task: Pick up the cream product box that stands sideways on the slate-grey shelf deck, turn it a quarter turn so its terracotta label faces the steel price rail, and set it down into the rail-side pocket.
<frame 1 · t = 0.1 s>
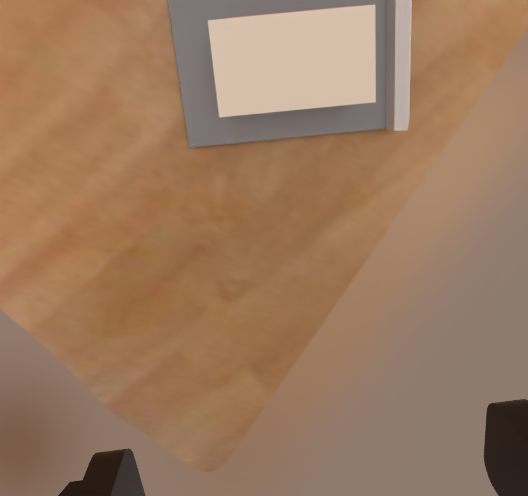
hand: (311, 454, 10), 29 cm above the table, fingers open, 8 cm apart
cream box: (282, 67, 32), point 2 cm above the table, touching shelf deck
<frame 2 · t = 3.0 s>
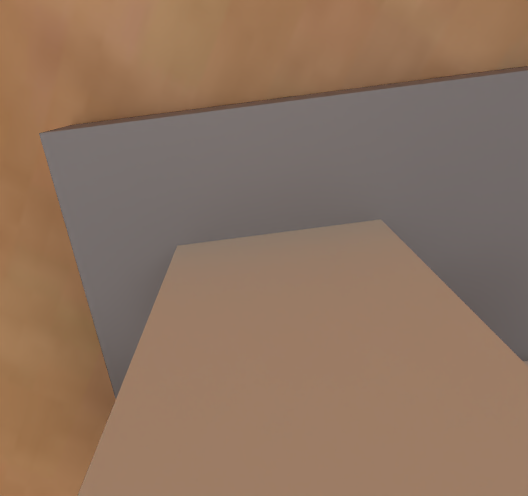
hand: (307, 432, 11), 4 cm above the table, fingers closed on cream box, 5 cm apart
shelf deck: (490, 332, 15), on the table
cream box: (296, 384, 13), point 2 cm above the table, touching gripper, shelf deck
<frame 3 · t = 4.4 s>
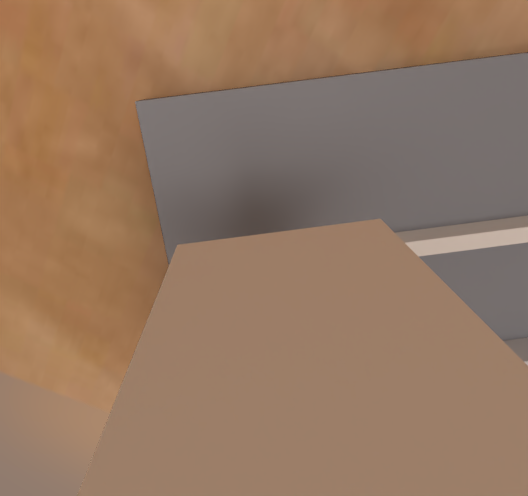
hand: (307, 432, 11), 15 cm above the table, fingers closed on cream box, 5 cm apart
shelf deck: (383, 226, 25), on the table
cream box: (296, 383, 13), point 13 cm above the table, touching gripper
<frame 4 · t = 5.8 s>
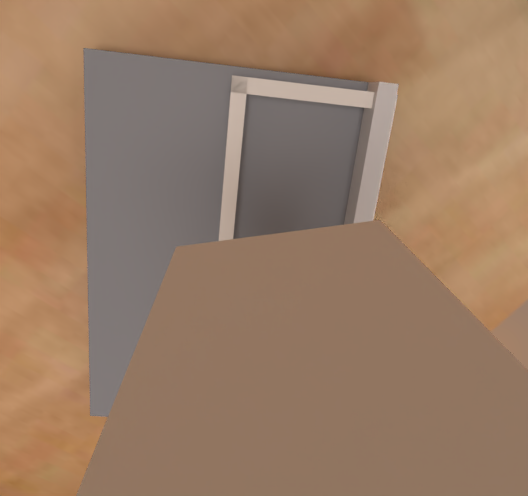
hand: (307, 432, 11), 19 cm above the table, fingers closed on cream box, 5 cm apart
shelf deck: (223, 257, 29), on the table
cream box: (296, 385, 13), point 17 cm above the table, touching gripper
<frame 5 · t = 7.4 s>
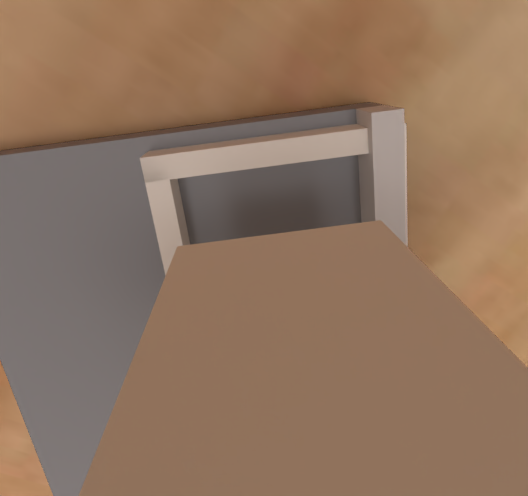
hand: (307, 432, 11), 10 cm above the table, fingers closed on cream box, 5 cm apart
shelf deck: (212, 375, 21), on the table
cream box: (296, 385, 13), point 8 cm above the table, touching gripper
when the fingers open (5 cm above the table, at t = 8.8 s): cream box drops 2 cm, resting on shelf deck.
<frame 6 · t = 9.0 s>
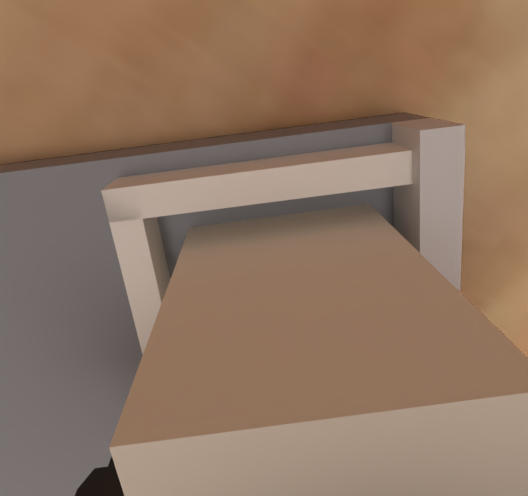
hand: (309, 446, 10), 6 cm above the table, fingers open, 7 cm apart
shelf deck: (204, 443, 18), on the table
cream box: (295, 353, 14), point 2 cm above the table, touching shelf deck
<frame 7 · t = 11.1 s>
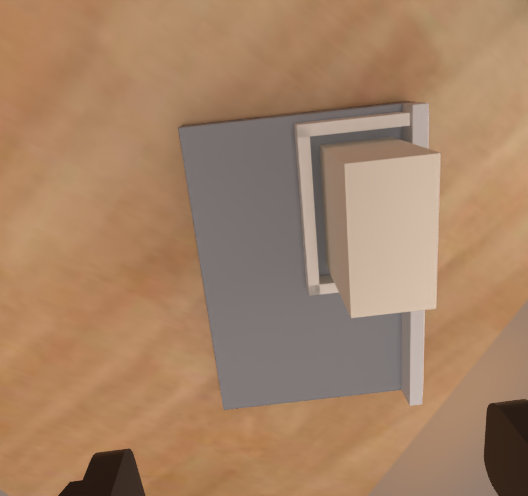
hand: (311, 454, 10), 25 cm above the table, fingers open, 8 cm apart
shelf deck: (305, 263, 36), on the table
cream box: (358, 204, 32), point 2 cm above the table, touching shelf deck
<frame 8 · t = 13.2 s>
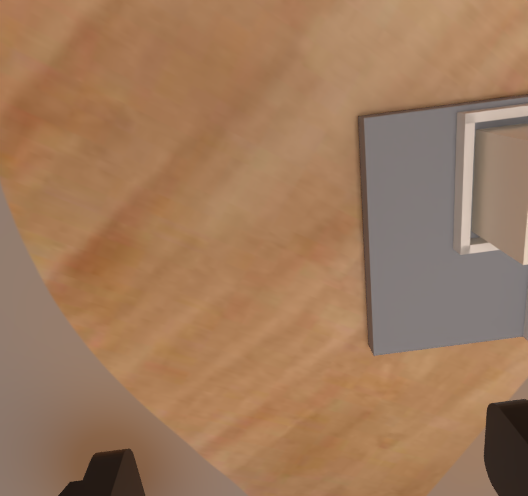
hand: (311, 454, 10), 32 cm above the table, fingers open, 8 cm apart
shelf deck: (447, 230, 43), on the table
cream box: (502, 178, 39), point 2 cm above the table, touching shelf deck
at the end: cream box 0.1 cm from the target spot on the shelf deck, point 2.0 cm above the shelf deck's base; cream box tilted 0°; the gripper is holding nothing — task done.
